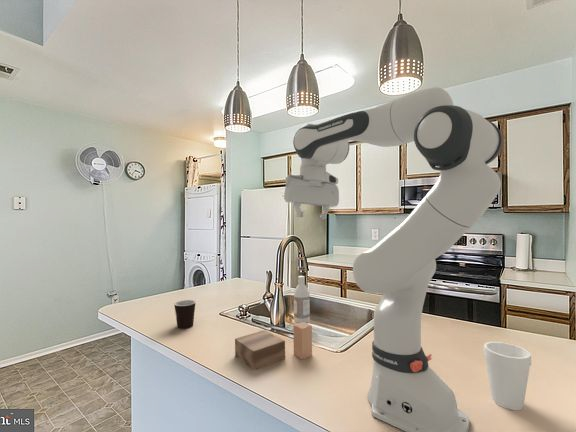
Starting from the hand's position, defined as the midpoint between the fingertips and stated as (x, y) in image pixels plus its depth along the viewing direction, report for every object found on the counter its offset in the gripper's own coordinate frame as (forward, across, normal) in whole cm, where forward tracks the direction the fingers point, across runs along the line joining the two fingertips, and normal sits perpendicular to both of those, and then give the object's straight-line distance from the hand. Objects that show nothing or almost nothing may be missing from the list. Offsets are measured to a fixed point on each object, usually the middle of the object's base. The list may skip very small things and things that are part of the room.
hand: (311, 218), depth 100 cm
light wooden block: (+46, +1, +4) cm, 46 cm away
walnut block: (+47, -12, +11) cm, 50 cm away
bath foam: (+44, +17, +31) cm, 56 cm away
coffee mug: (+46, -27, +54) cm, 76 cm away
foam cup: (+46, +31, -43) cm, 70 cm away
